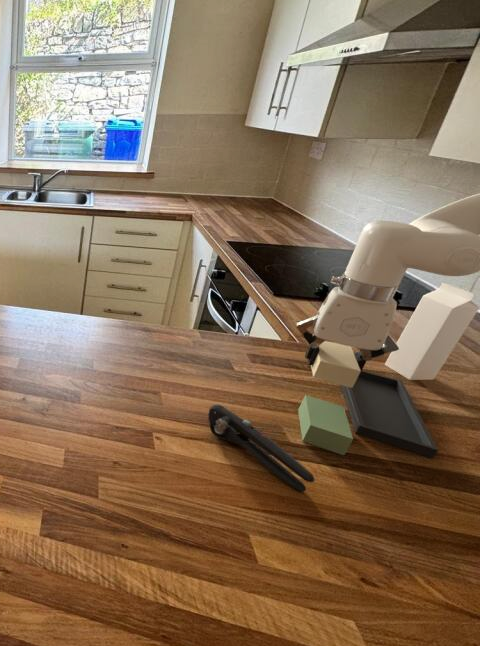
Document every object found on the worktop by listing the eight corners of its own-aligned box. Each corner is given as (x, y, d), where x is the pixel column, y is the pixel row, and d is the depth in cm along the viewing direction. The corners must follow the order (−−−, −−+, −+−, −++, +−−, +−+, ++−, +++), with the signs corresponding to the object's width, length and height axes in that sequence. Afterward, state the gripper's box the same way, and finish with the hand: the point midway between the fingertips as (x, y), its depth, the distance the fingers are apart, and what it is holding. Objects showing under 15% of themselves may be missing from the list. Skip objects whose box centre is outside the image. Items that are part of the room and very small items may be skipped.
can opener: (194, 425, 78) (202, 403, 75) (219, 415, 80) (227, 393, 78) (291, 502, 63) (305, 477, 61) (318, 487, 66) (332, 463, 63)
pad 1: (343, 362, 85) (351, 346, 83) (352, 388, 78) (360, 371, 76) (308, 353, 88) (314, 338, 86) (313, 377, 80) (320, 361, 79)
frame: (397, 387, 89) (401, 380, 88) (432, 458, 71) (438, 450, 71) (336, 370, 94) (339, 363, 94) (355, 433, 77) (359, 425, 76)
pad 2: (335, 422, 79) (343, 406, 78) (344, 455, 72) (353, 439, 70) (298, 410, 82) (305, 394, 80) (302, 441, 75) (310, 424, 73)
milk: (406, 364, 97) (455, 282, 88) (434, 380, 92) (489, 294, 83) (383, 364, 97) (429, 282, 88) (409, 380, 92) (462, 294, 82)
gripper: (310, 284, 76) (279, 362, 84) (438, 307, 68) (391, 392, 75) (306, 272, 82) (278, 346, 90) (424, 291, 73) (382, 371, 81)
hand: (330, 366), depth 82 cm, fingers closed on pad 1, 6 cm apart
